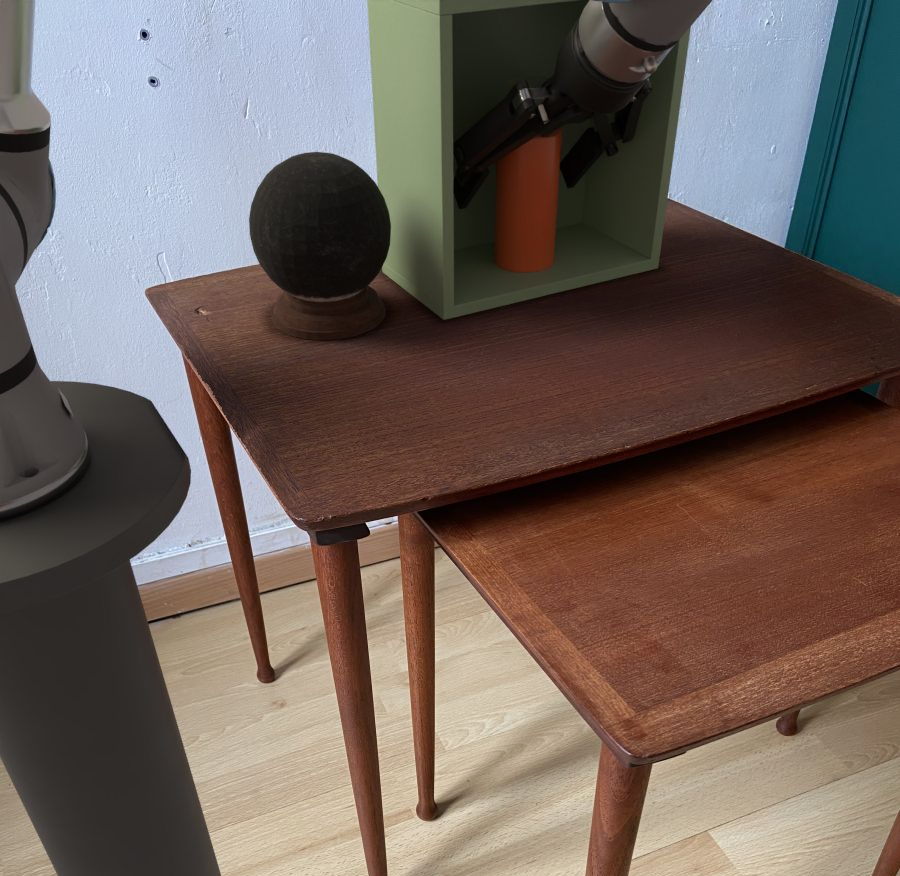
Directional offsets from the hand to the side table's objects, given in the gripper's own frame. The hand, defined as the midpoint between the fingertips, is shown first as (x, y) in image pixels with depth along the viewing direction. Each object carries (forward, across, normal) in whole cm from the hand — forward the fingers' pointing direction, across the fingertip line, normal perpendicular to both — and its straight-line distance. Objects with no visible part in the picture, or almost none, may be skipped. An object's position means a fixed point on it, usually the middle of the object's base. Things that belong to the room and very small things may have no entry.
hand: (513, 186), depth 99 cm
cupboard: (+4, 0, -7) cm, 8 cm away
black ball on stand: (+4, -22, -8) cm, 24 cm away
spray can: (+3, 0, -7) cm, 7 cm away
